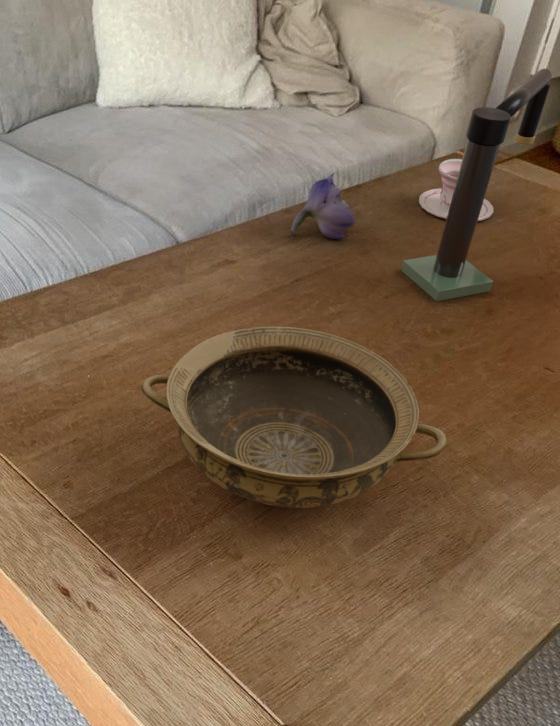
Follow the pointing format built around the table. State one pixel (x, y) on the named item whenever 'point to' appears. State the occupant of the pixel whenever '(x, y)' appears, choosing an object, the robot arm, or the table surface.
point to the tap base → (458, 233)
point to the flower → (326, 210)
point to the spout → (512, 113)
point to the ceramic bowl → (291, 415)
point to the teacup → (448, 192)
